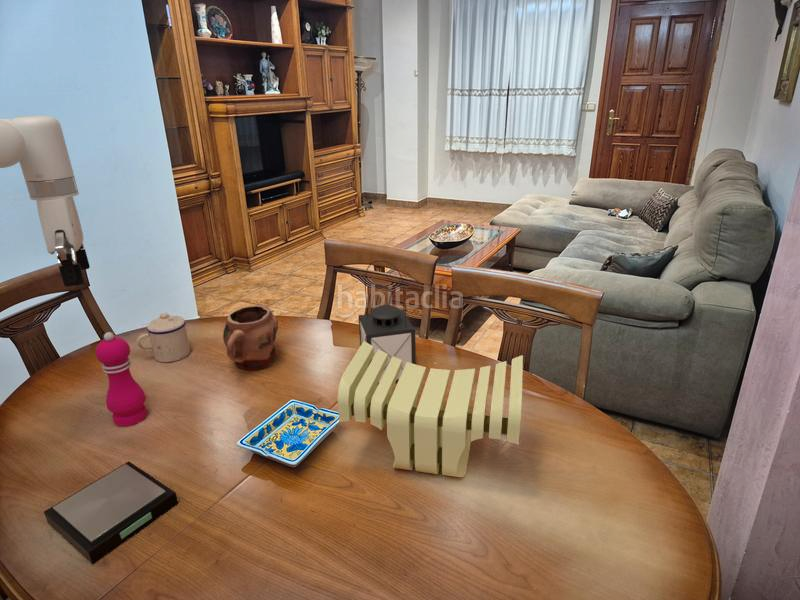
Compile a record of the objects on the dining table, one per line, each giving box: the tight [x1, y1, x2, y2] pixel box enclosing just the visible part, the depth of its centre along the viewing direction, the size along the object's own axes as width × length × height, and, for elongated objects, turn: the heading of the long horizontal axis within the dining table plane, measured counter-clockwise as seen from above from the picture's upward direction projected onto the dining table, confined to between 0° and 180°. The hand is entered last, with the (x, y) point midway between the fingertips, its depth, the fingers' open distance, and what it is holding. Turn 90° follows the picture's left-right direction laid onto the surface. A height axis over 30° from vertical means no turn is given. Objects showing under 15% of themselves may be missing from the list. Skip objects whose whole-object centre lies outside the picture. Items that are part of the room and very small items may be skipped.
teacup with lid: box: [136, 312, 191, 363], centre depth 130 cm, size 12×9×12 cm
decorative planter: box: [222, 304, 279, 371], centre depth 124 cm, size 20×12×14 cm, turn 174°
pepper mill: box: [95, 331, 148, 428], centre depth 104 cm, size 7×7×20 cm
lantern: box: [357, 260, 417, 386], centre depth 117 cm, size 11×11×28 cm
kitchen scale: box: [43, 461, 179, 565], centre depth 83 cm, size 14×14×3 cm
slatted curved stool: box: [337, 341, 524, 478], centre depth 92 cm, size 30×16×18 cm, turn 77°
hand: (78, 276), depth 99 cm, fingers open, 9 cm apart
